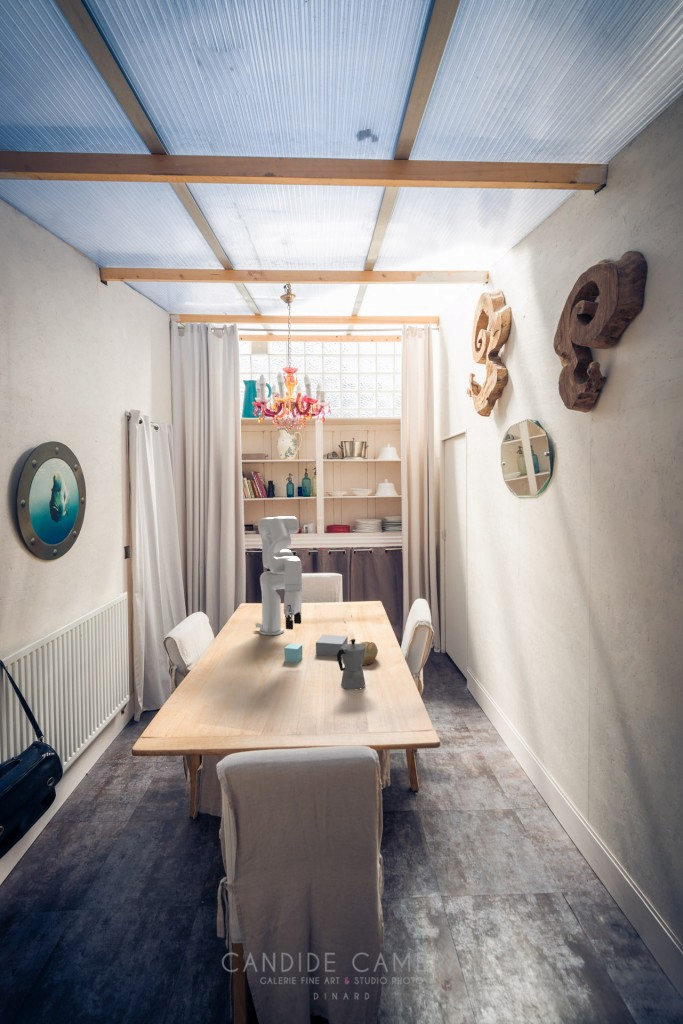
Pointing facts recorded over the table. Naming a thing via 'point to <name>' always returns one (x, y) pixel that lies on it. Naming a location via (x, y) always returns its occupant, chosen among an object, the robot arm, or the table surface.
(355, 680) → the coffeepot
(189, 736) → the table surface
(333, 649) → the gray block
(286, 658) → the teal cube
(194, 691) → the table surface
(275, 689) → the table surface
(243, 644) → the table surface
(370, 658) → the bread roll
